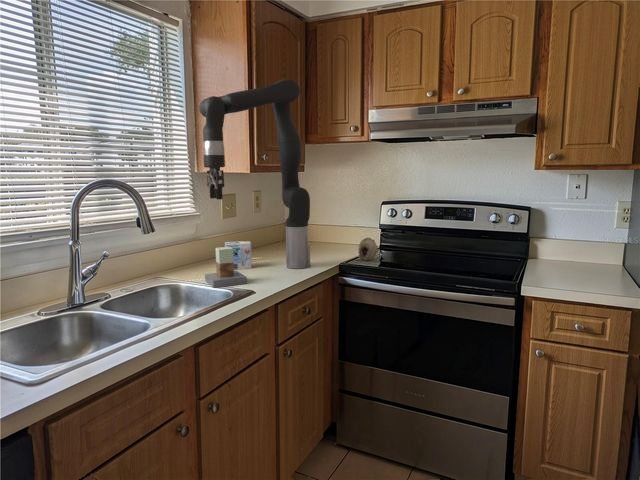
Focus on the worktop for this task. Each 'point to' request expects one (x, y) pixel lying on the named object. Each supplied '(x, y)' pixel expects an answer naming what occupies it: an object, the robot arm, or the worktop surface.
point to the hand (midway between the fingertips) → (216, 198)
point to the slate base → (225, 279)
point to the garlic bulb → (367, 249)
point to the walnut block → (225, 269)
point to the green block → (224, 255)
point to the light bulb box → (241, 254)
